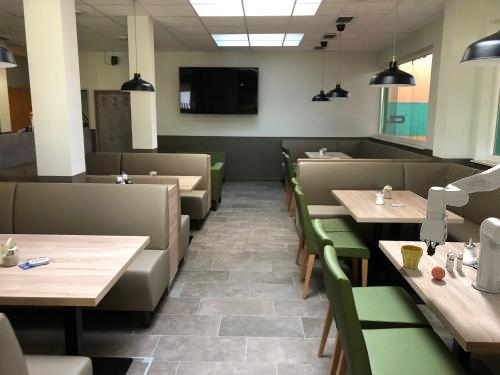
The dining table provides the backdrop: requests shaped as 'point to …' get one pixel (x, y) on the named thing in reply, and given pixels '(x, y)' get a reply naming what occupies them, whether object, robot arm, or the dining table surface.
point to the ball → (438, 272)
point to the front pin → (451, 262)
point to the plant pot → (411, 256)
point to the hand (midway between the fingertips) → (430, 255)
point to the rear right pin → (459, 262)
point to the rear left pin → (448, 257)
